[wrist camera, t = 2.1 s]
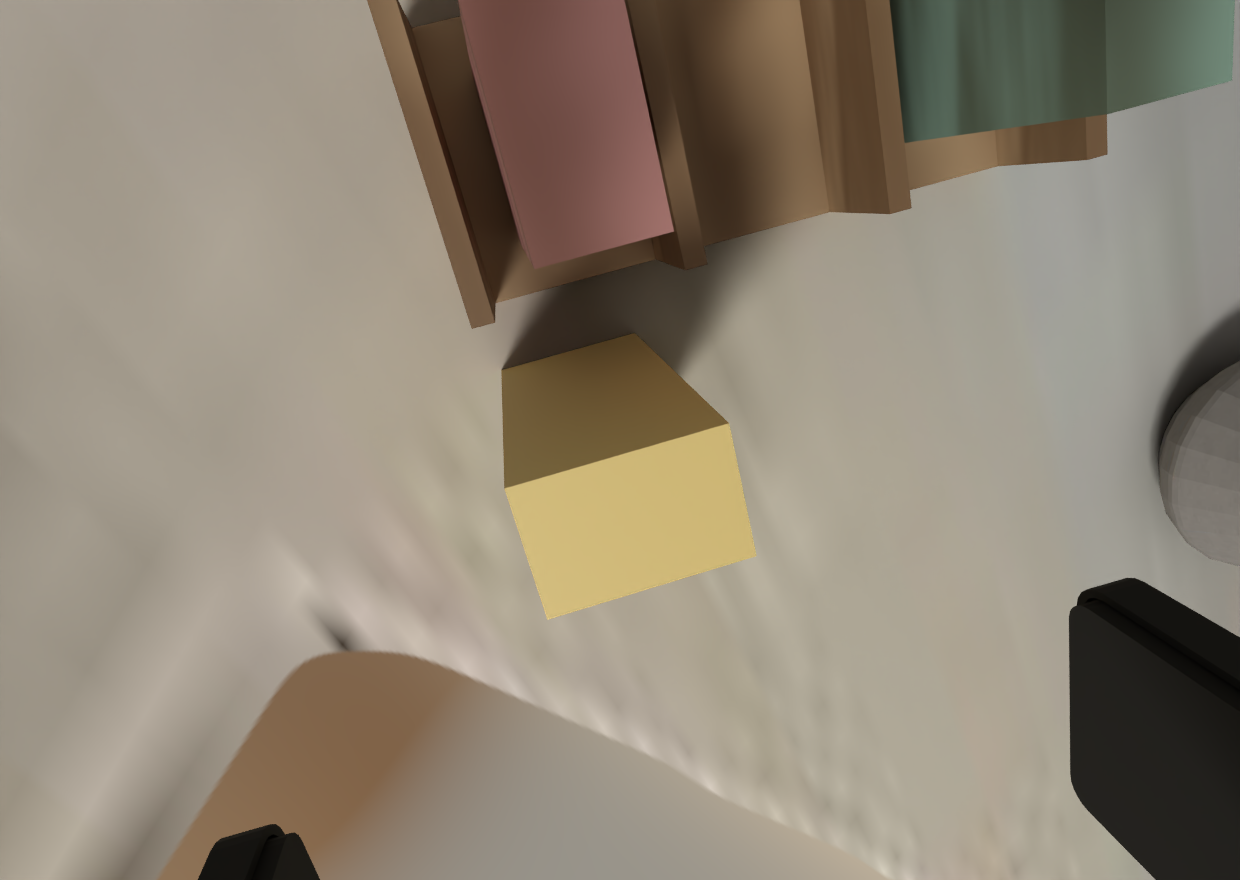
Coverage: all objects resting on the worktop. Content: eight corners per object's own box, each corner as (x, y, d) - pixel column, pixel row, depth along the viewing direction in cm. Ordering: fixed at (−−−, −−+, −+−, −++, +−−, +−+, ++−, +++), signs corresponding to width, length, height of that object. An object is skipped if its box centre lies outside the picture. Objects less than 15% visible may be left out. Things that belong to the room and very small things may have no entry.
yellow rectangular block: (634, 333, 32) (728, 423, 19) (655, 417, 34) (756, 555, 21) (501, 370, 32) (504, 488, 19) (527, 454, 33) (547, 619, 20)
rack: (974, -101, 29) (1342, -333, 16) (992, 162, 32) (1310, 138, 20) (395, 41, 28) (307, -95, 15) (476, 303, 31) (462, 375, 18)
